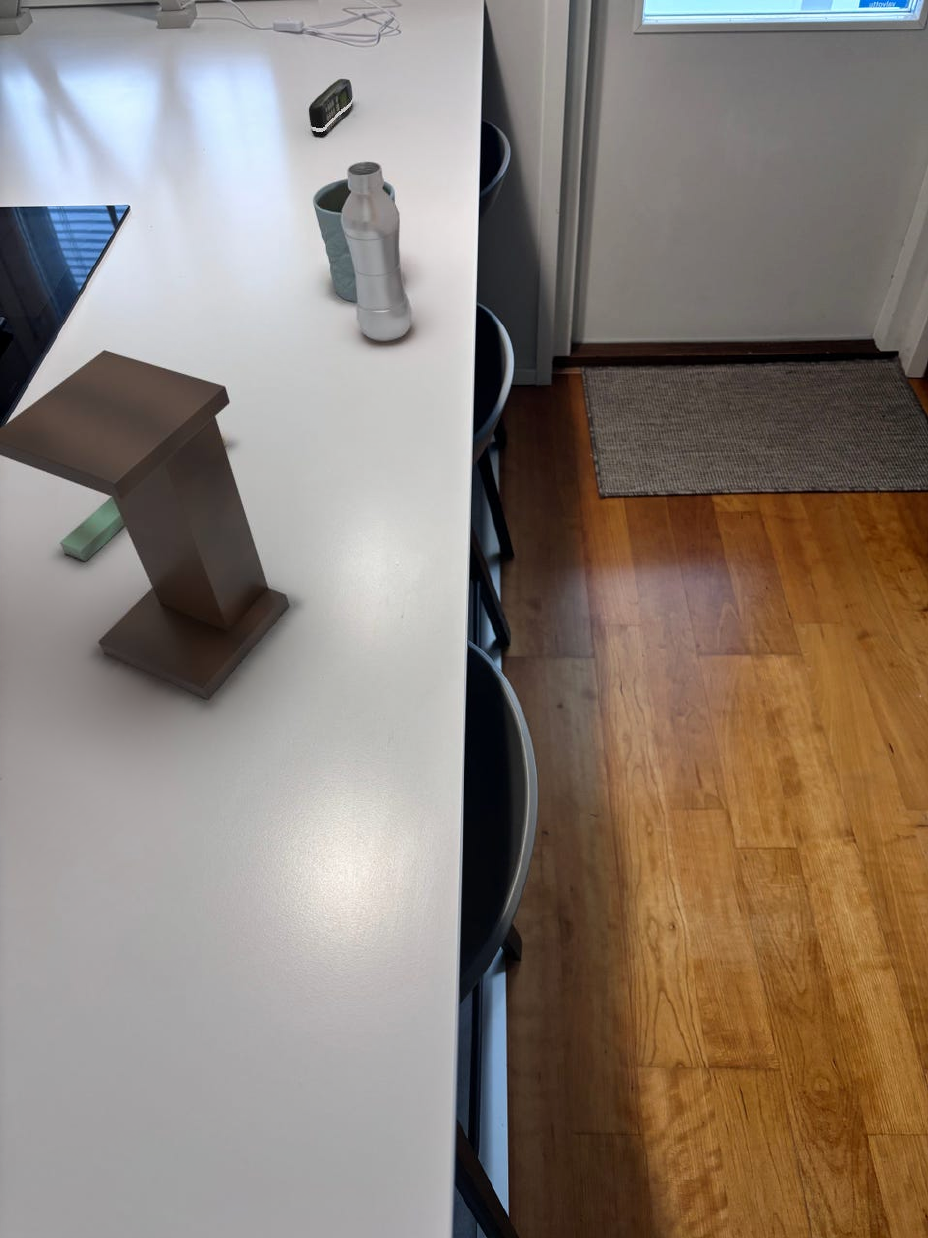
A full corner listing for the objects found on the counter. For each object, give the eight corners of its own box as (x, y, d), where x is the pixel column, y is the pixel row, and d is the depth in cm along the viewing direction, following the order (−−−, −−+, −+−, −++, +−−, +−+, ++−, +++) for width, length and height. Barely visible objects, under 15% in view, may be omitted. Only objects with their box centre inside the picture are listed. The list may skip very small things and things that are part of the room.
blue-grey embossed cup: (351, 313, 121) (336, 221, 112) (314, 281, 126) (297, 191, 117) (419, 287, 124) (409, 195, 115) (380, 257, 130) (368, 168, 121)
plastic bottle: (413, 346, 115) (394, 179, 100) (357, 349, 115) (330, 183, 100) (414, 317, 119) (396, 153, 104) (361, 320, 119) (335, 157, 104)
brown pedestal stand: (208, 699, 81) (114, 483, 63) (103, 652, 85) (-13, 437, 67) (289, 605, 88) (225, 385, 70) (188, 566, 92) (104, 349, 74)
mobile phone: (320, 108, 154) (355, 71, 163) (303, 106, 154) (339, 70, 163) (326, 139, 157) (360, 101, 166) (309, 138, 158) (344, 100, 167)
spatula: (97, 566, 92) (92, 555, 91) (53, 548, 95) (47, 537, 93) (226, 445, 104) (223, 434, 103) (184, 431, 106) (180, 420, 105)
